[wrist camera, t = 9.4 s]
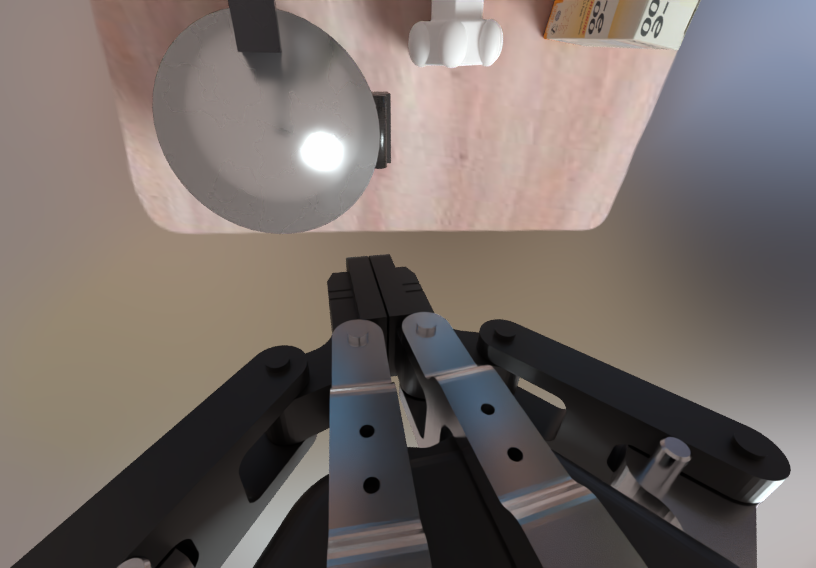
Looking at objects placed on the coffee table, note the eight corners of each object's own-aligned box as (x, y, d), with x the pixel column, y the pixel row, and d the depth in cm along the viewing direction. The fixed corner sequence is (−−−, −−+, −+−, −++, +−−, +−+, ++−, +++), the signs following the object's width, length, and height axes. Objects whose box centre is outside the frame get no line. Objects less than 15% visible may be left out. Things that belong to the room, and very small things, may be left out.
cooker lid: (77, -143, 19) (45, -169, 16) (382, -110, 22) (391, -127, 19) (194, 234, 29) (185, 250, 27) (385, 220, 33) (392, 233, 30)
